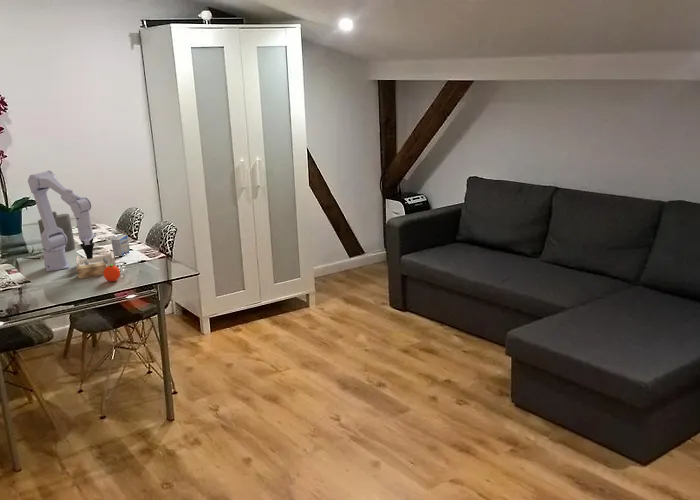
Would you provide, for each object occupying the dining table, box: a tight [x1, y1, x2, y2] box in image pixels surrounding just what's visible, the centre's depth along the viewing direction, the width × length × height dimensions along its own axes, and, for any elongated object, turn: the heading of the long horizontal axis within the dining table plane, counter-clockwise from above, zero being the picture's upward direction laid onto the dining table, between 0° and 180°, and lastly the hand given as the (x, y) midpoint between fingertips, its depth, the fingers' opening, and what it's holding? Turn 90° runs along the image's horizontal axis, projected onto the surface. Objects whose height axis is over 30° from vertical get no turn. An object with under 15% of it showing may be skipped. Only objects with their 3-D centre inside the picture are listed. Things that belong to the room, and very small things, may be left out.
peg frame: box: [75, 250, 116, 267], centre depth 318 cm, size 16×11×4 cm
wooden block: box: [76, 262, 106, 279], centre depth 308 cm, size 12×4×4 cm, turn 111°
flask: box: [37, 210, 76, 252], centre depth 339 cm, size 15×6×20 cm, turn 135°
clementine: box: [102, 265, 121, 282], centre depth 299 cm, size 8×7×7 cm
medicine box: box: [111, 234, 131, 257], centre depth 332 cm, size 8×4×9 cm, turn 168°
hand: (89, 256), depth 305 cm, fingers open, 7 cm apart
